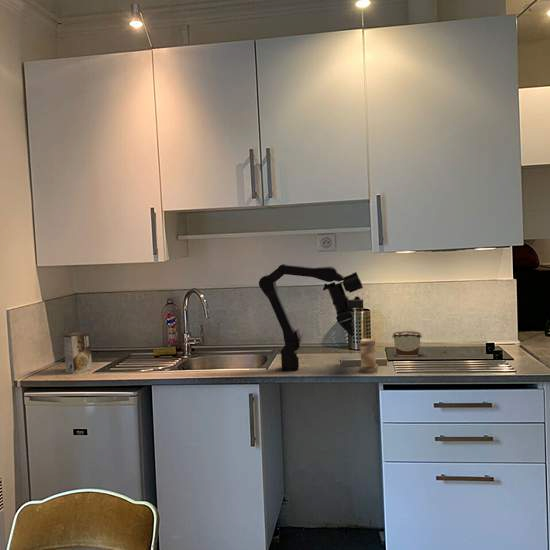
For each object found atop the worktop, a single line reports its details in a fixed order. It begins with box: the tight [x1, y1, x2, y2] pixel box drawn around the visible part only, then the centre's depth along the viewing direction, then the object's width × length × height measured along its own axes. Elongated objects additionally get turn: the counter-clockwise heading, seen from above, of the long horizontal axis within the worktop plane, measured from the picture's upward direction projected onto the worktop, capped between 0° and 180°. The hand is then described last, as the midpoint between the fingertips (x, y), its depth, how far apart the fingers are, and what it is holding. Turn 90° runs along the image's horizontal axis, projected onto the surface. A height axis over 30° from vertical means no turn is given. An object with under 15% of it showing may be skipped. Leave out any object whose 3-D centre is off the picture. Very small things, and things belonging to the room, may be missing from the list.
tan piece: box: [358, 338, 379, 373], centre depth 236 cm, size 6×7×12 cm
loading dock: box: [339, 352, 388, 368], centre depth 250 cm, size 18×13×3 cm
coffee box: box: [62, 331, 93, 375], centre depth 258 cm, size 9×6×16 cm
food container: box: [391, 330, 422, 355], centre depth 261 cm, size 12×6×10 cm, turn 74°
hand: (352, 333), depth 240 cm, fingers open, 9 cm apart
